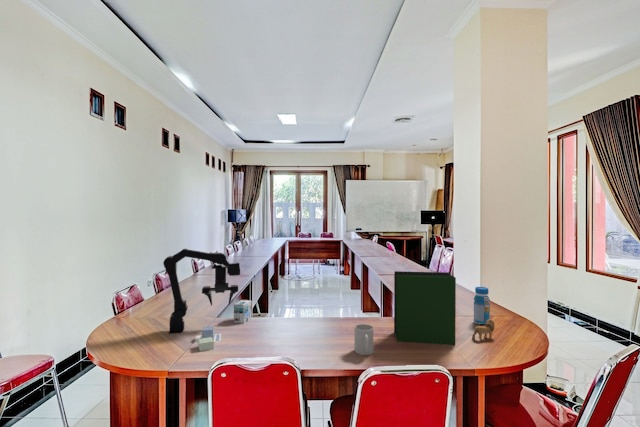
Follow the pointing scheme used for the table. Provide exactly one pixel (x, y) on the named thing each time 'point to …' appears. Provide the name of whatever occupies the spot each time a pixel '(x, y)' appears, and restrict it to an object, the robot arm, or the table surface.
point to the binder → (424, 307)
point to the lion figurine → (484, 330)
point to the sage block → (205, 344)
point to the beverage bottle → (481, 305)
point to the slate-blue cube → (208, 332)
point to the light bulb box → (242, 311)
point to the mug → (363, 339)
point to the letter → (216, 338)
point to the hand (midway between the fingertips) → (220, 304)
